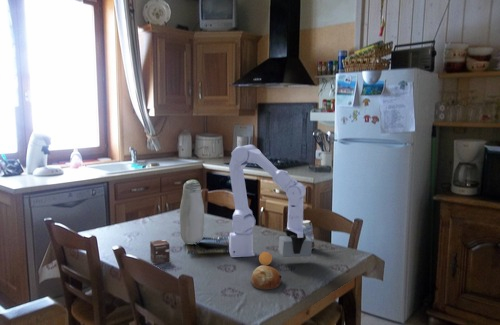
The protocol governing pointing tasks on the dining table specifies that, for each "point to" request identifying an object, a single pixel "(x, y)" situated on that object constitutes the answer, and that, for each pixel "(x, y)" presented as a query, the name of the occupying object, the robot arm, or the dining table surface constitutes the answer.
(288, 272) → the dining table surface
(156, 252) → the box
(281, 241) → the light grey cuboid
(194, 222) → the white tall rounded cylinder
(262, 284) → the bread roll
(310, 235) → the beverage can
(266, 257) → the ball
